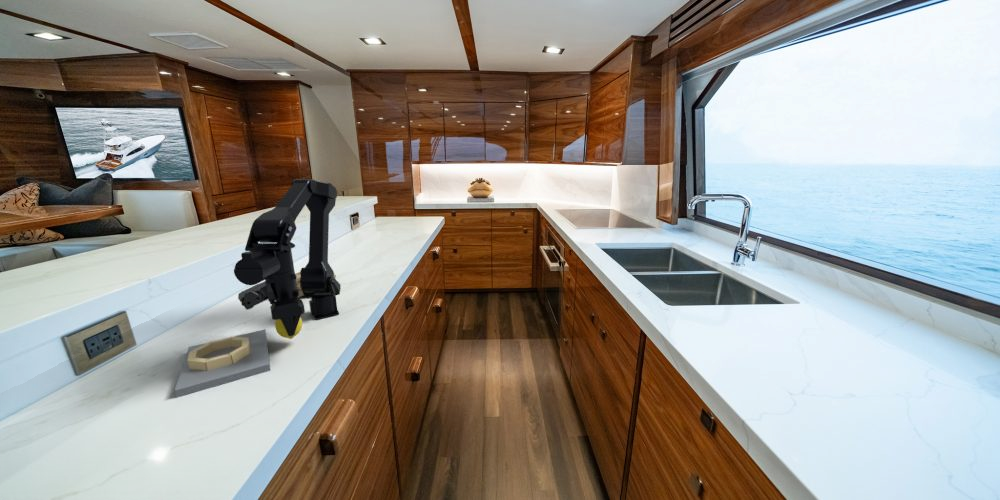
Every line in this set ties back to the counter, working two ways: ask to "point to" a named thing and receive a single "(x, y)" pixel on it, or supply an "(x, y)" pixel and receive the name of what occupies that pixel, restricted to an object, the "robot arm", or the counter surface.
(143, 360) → the counter surface
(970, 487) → the counter surface
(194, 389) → the plate
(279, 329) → the lemon
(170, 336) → the counter surface
